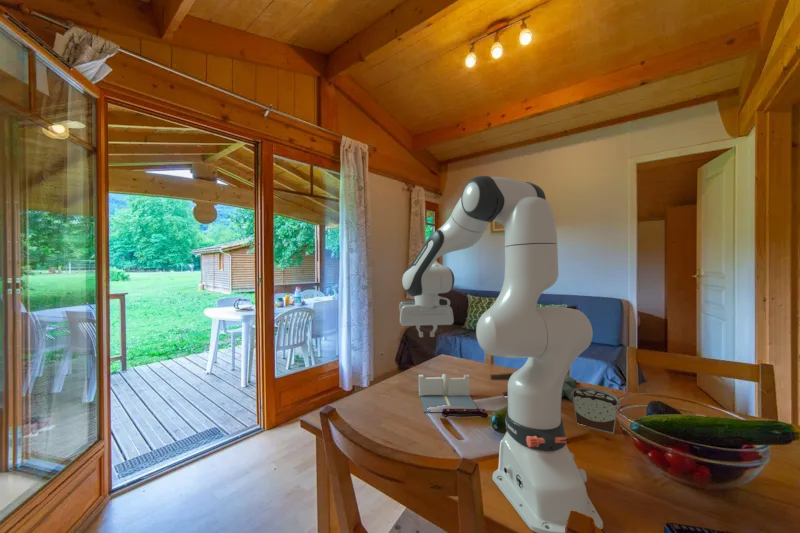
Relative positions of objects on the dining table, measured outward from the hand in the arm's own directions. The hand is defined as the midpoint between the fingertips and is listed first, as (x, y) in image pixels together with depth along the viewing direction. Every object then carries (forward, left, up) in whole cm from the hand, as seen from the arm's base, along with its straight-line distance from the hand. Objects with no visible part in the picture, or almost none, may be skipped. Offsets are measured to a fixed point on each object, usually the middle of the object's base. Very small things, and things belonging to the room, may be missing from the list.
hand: (426, 336), depth 118 cm
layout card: (-6, -6, -21) cm, 23 cm away
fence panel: (-4, -2, -20) cm, 21 cm away
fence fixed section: (-4, -10, -21) cm, 24 cm away
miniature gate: (+2, -43, -22) cm, 48 cm away
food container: (-26, -48, -21) cm, 58 cm away
